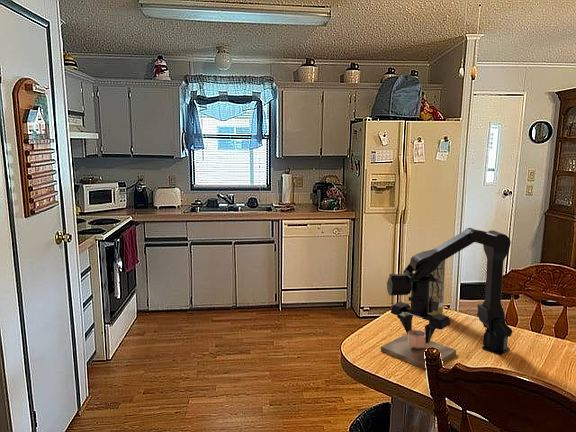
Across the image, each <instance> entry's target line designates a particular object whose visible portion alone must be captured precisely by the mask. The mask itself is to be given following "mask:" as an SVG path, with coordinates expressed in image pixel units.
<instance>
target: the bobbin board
mask: <svg viewBox="0 0 576 432" xmlns="http://www.w3.org/2000/svg"><path fill="white" fill-rule="evenodd" d="M415 335H417V336H422V333H419V332H416V333H415ZM429 347H434V348H437V349H438V350H439V351H440V353H441V358H442V361H443V363H444V362H447V361H448V360H449V359H451V358H452V357H454V356H456V355H457V349H454V348H452V347H449V346H447V345H443V344H440V343H438V342H435V341H433V340H430V342H429V346H427V347H425V348H417V347H413V346H411V345H409V343H408V335H407V333H406V334H403V335H400V336H398V337H397V338H395V339H393V340H391V341H389V342H387V343H385V344H383V345H381V346H380V352H382V353H385V354H387V355H389V356H392V357H395V358H397V359H400V360H401V361H404V362H406V363H409V364H411V365H413V366H416V367H419V368H420V369H423V370H426V368H425V359H424V352H425V350H426V349H427V348H429ZM426 371H427V370H426Z"/></svg>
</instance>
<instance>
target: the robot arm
mask: <svg viewBox="0 0 576 432" xmlns="http://www.w3.org/2000/svg"><path fill="white" fill-rule="evenodd" d="M474 243H476V244H480V245H482V247H483V250H484V251H483V252H484V254H485V256H486V274H485V275H486V276H485V291H484V292H485V293H484V301H483V302H482V304H477V313H476V316H477V317H478V320H479V321H480V322H481V323H482V326H483V327H484V328H486V329H485V330H484V333H483V336H482V337H483V338H482V347H481V349H483V350H486V351H488V352H490V353H494V354H497V355H499V356H503V354H505V353H506V352H508V351H510V347H508V344H509V343H508V341H509V337H512V334H513V329H511V327H509V326H508V325H507V324H506V315H505V312H504V308H503V306H502V305H503V304H502V290H503V275H504V274H503V273H504V261H505V259H506V257H507V256H508V254H509V252H510V247H511V243H512V242H511V238H510V237H509V236H508V235H507V234H504V233H501V232H499V231H496V230H488V231H485V230H480V229H475V228H472V227H468V228H465V229H463V231H461V232H460V233H458V234H457V235H455V236H453V237H451V238H450V239H448V240H447V241H444V242H443V243H441V244H440V245H438V246H437V247H435V248H433V249H430V250H429V249H428V250H425V251H422V252H419V253H416V254H414V255H413V256H412V257H410V261H409V264H408V265H407V266H406V267H405V269H404V270H403V271H402V273H399V274H396V273H389V276H388V279H387V281H386V290H387V294H388V296H408V295H410V296H408V301H410V304H409V303H406V302H403V301H400V302H397V303H394V304H392V306H391V308H390V314H392V315H394V316H396V317H397V318H398V320H399V321H400V323H401V325H402V326H403V328H404V330H405V332H406V334H407V335H408V331H410V330H412V329H413V328H412V326H413V325H412V323H413V318H414V317H416V318H420V319H421V320H425V321H427V322H428V324H425V325H424V330H425V337H426V343H427V344H428V343H429V342H430V341H431V339H432V337H433V335H434V332H435V331H436V330H443V329H445V328H447V327H450V325H451V318H450V316H449V315H445V314H439V313H438V314H436V315H434V316H432V315H429V313H432V312H433V310H434V311H438V306H439V302H436V301H433V300H432V297H430V282H434V281H437V279H436V278H434V276H433V275H432V274H431V273H432V272H433V271H434V270H436V269H437V268H438V266H439V265H440V263H441V262H443V261H444V260H445V261H446V260H447V259H449V258H451V257H452V256H453V255H456V254H457V253H459V252H461V251H462V250H464V249H465V248H467V247H469V246H471V245H473V244H474Z"/></svg>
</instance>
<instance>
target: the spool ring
mask: <svg viewBox="0 0 576 432" xmlns="http://www.w3.org/2000/svg"><path fill="white" fill-rule="evenodd" d="M416 332H419V333H422V336H417V335H415V333H416ZM408 343H409V345H411V346H413V347H417V348H425V347H427V346H429V343H428V344H427V343H426V337H425V329H421V328H412V330H410V331H408Z"/></svg>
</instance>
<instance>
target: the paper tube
mask: <svg viewBox="0 0 576 432" xmlns="http://www.w3.org/2000/svg"><path fill="white" fill-rule="evenodd" d="M445 272H446V259H445V260H444V261H443V262H441V263H440V265H439V266H438V268H437V269H436V270H434V271H433V272H432V273H431V274H432V275H433V276H434V278H436V279H437V281H434V282H430V297H432V300H433V301H436V302H439V306H438V311H434V310H433V312H432V313H429V315H432V316H434V315H436V314H438V313H439V314H442V315H444V314H443V313H444V297H445V296H444V295H445V277H446V273H445Z"/></svg>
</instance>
